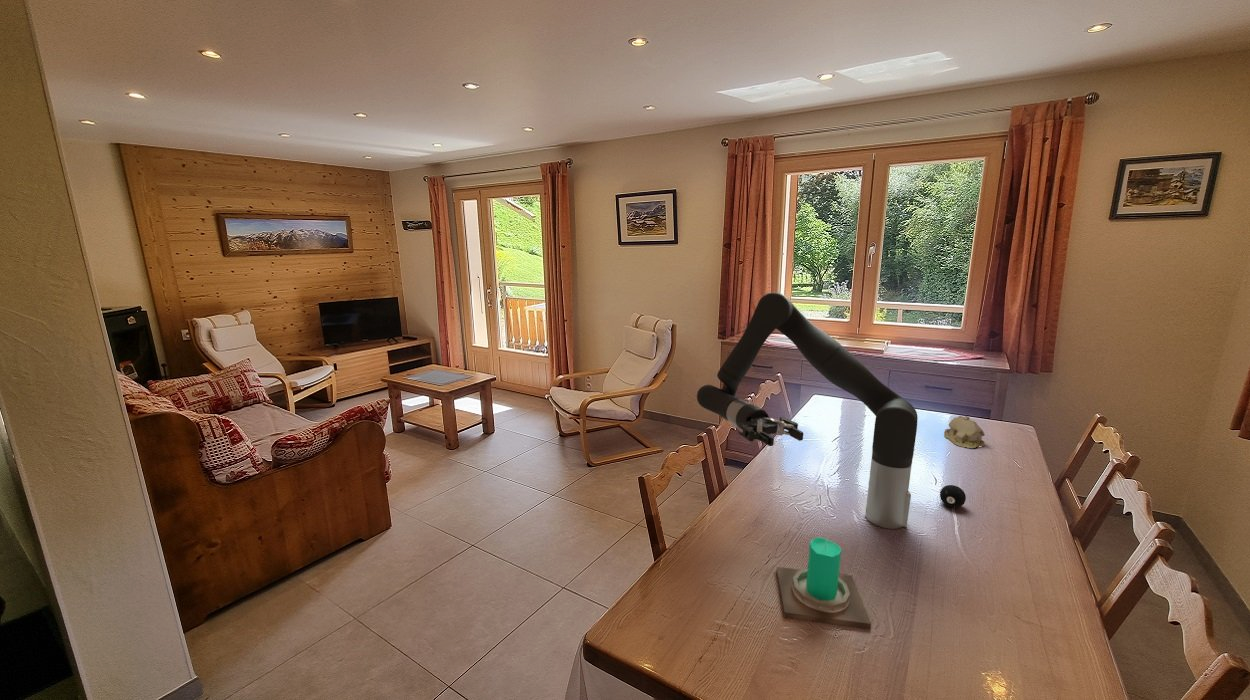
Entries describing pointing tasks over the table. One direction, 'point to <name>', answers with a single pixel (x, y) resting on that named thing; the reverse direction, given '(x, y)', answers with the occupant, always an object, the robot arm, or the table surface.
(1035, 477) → the table surface
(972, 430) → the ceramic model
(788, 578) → the holder
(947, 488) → the billiard ball
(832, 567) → the candle
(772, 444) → the robot arm
